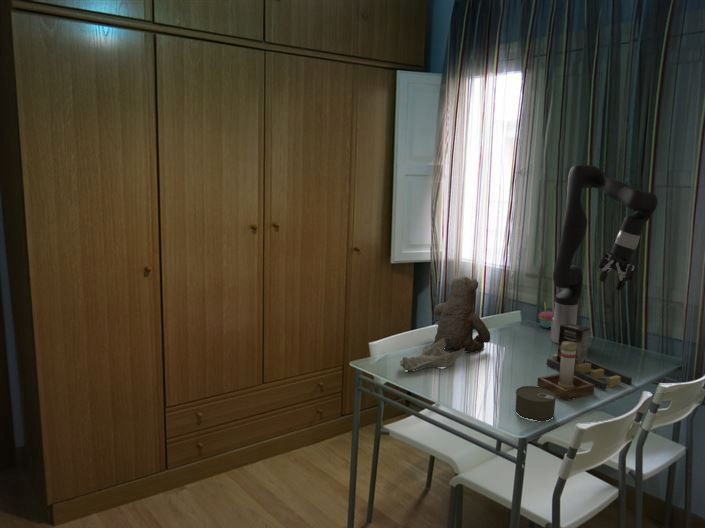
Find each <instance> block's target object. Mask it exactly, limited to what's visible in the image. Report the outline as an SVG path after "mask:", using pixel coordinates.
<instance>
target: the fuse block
mask: <svg viewBox="0 0 705 528" xmlns="http://www.w3.org/2000/svg"><path fill="white" fill-rule="evenodd" d="M557 354H558V353H555V354H552V355H551V356H552V357H551V358H547V360H546V366H548V367H551V368H553V369H554V370H557V371H559V370H560V363H559V362H557ZM586 373H590V374H586ZM604 375H605V376H606V382H605V381H603V380H601V379H604V378H605V376H604ZM574 376H576V377H578V378H580V379H583V380H585V381H587V382H589V383H591V384H594V385H595V387H594V388H597V389H600V390H602V391H607V387H608V388H612V387H617V386H620V385H621V382H622V383H623V382H624V384H625V385H632V380H633V378H632V376H629V375H626V374H625V373H621V372H619V371H617V370H614V369H612V368H611V367H610V368H609V367H607V366H604V365H602V364H599V363H597V362H594V361H592V360H590V359H588V358H586V363H584V364H579V365H576V369H574Z"/></svg>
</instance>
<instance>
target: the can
mask: <svg viewBox="0 0 705 528" xmlns="http://www.w3.org/2000/svg"><path fill="white" fill-rule="evenodd" d="M515 394H516V395H515V410H516V412H517V413H518V414H519V415H520V416H522V417H524V418H528V419H533V420H537V421H546V420H549V419H551V418H552V417H553V415H554V416H555V408H556V400H557V396H556V394H555V393H554V392H552V391H550V390H548V389H545V388H542V387H537V386H534V385H525V386H521V387H518V388H516V390H515Z"/></svg>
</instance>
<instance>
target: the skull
mask: <svg viewBox="0 0 705 528" xmlns="http://www.w3.org/2000/svg"><path fill="white" fill-rule="evenodd" d="M445 346H446V343H445V340H444V338H442V339H440V340H439V341H437V342H434V343H433V344H432V345H431V346H430V347H429V348H427V346H425V347H424V348H422V349H423V350H422V352H421V354H420V356H419V355H418V356H411V357H409V358H408V357H406V356H404V357H402V360H400V361H399V363H400V364H399V365H400V366H401V367H402V368H403V369H404V371H405V370H408V371H413V370H416V369H418V370H420V368H421V369H425V367H426V368H435V367H447V368H448V367H450V366H451V365H452V364H454V362H456V361H457V360H458V359H459V358H460V357H461V356H463V355H464V354H465V353H466V352H465V351H464V350H465V348H463V349H461V350H459V351H452V352H450V353H449V352H446V351H447V350H445V349H444V348H445ZM433 350H436V351H435V352H434V353H433V354H431V353H432V351H433ZM416 371H417V370H416ZM413 372H414V371H413Z"/></svg>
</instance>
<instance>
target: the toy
mask: <svg viewBox="0 0 705 528" xmlns="http://www.w3.org/2000/svg"><path fill="white" fill-rule="evenodd" d="M478 288H479V281H478V280H476V279H471V278H470V277H469V276H463V275H462V276H458V277H455V278H453V279H452V281H451V284H450V291H449V295H448V296H449V297H448V299H447V301H445V302H441V303H439V304H437V305H436V306H434V309H433V313H434V315H435V316H437V317H439V321H438V324H437V329H436V334H435V336H434V341H435V342H434V343H436V342H437V341H439V340H440V339H442V338H444V340H445V343H446V346H445V349H448V350H447V351H449V350H454V351H453V352H456V351H459V350H461V349H463V348H465V350H464V351H468V352H467V353H477V352H476V351H478V352H480V351H482V350H484V349H485V344H487V343H490V341H491V332H490V330H489V329H488V327H487V326H486V324H485V322H484V321H483V320H482V319H481V318H480V316H479V315H477V314H476V312H474V304H475V302H476V297H477V295H476V294H477V293H476V292H477V291H476V290H477V289H478ZM474 330H475V331H476V332H477V335H476V336H475V337H473V333H474V332H473V331H474ZM445 349H444V350H445Z"/></svg>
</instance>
